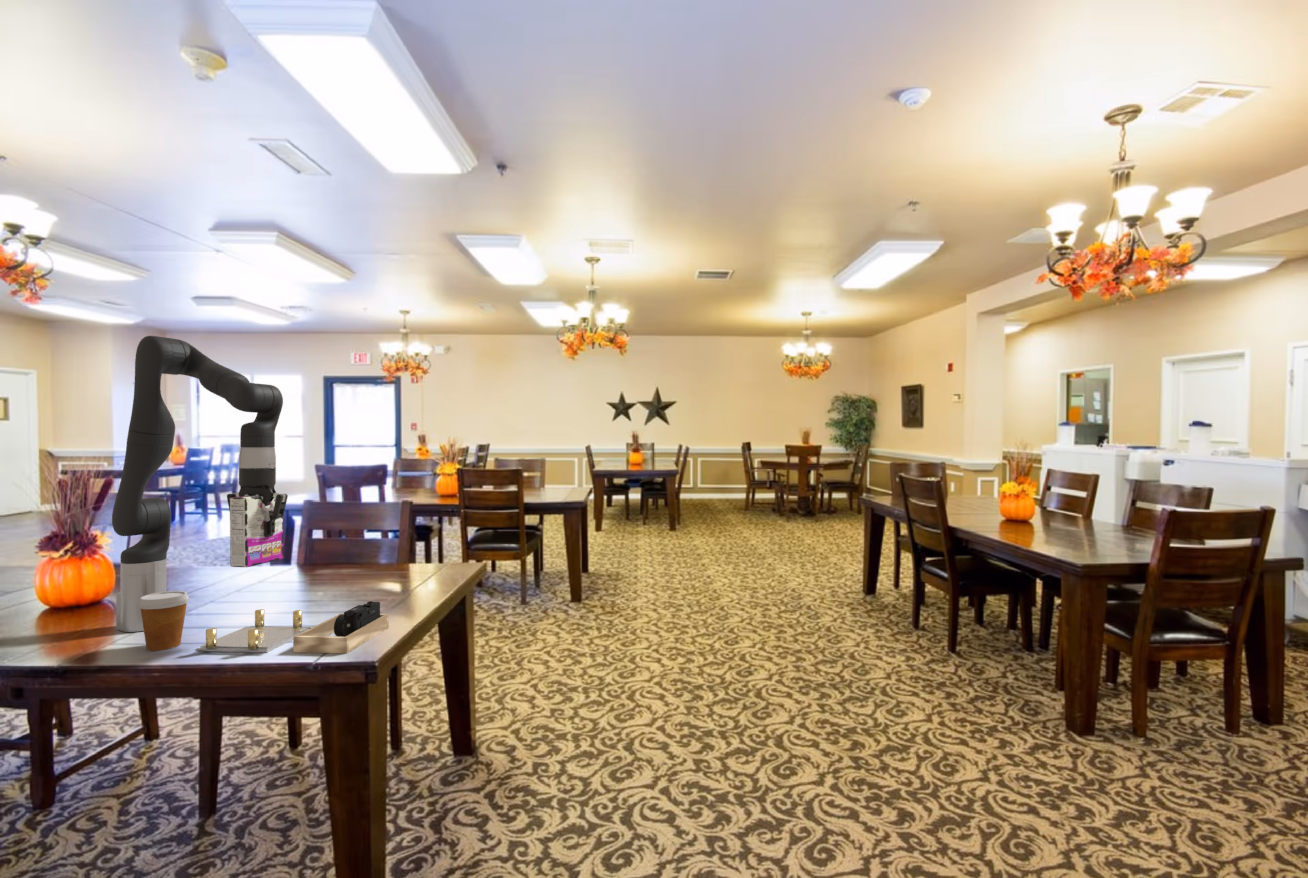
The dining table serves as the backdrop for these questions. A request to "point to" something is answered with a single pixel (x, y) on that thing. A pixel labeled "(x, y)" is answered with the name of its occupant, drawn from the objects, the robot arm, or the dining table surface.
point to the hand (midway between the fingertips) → (257, 536)
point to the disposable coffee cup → (163, 619)
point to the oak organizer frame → (322, 643)
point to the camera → (356, 618)
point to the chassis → (254, 636)
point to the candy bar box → (252, 533)
